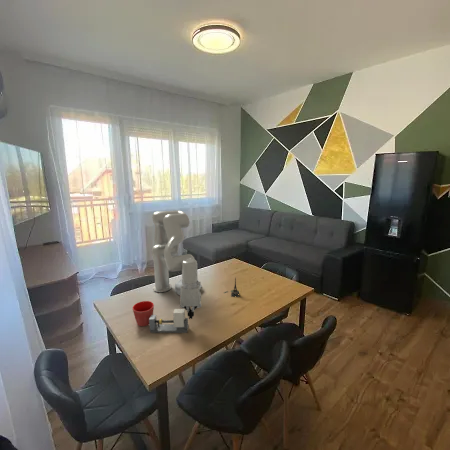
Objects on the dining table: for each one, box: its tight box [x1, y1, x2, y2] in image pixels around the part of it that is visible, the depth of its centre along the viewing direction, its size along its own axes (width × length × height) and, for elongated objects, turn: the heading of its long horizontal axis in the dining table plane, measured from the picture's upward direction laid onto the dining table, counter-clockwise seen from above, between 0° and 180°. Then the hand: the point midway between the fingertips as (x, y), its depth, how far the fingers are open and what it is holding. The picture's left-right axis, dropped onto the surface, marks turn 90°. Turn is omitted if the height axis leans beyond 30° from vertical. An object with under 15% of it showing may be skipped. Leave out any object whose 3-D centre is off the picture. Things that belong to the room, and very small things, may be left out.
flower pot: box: [132, 300, 155, 327], centre depth 131 cm, size 11×11×10 cm
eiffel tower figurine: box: [223, 276, 240, 298], centre depth 161 cm, size 15×10×13 cm
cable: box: [174, 278, 202, 296], centre depth 168 cm, size 18×18×6 cm
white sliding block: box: [172, 308, 186, 327], centre depth 125 cm, size 5×4×8 cm
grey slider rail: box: [148, 314, 190, 334], centre depth 126 cm, size 19×6×7 cm, turn 90°
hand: (190, 317), depth 125 cm, fingers closed
